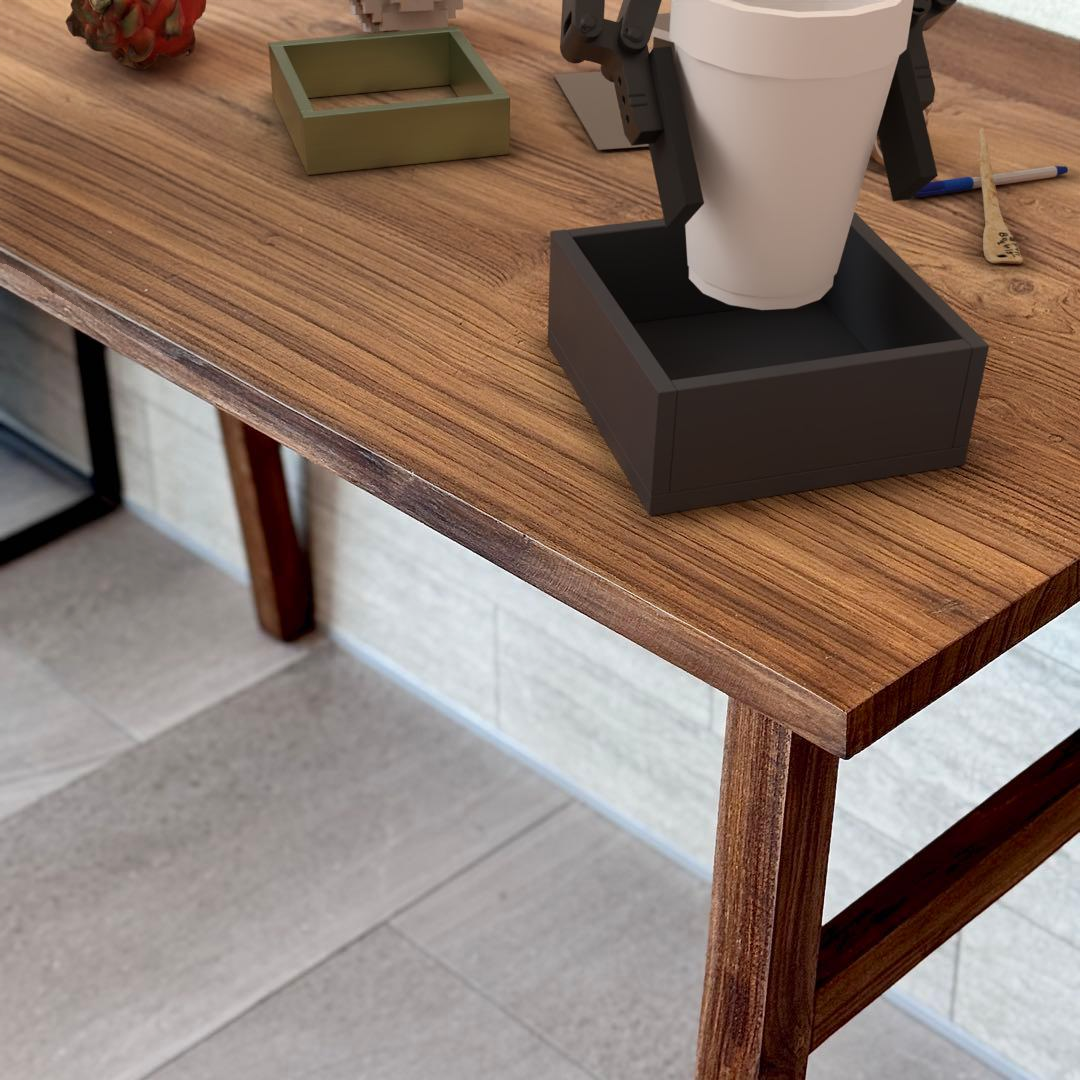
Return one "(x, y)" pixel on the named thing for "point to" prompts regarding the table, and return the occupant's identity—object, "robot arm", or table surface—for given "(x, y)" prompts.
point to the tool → (994, 215)
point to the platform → (606, 96)
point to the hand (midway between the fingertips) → (802, 202)
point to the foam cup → (780, 136)
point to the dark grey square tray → (758, 370)
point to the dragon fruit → (136, 28)
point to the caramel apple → (404, 14)
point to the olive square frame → (389, 128)
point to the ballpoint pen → (998, 179)
